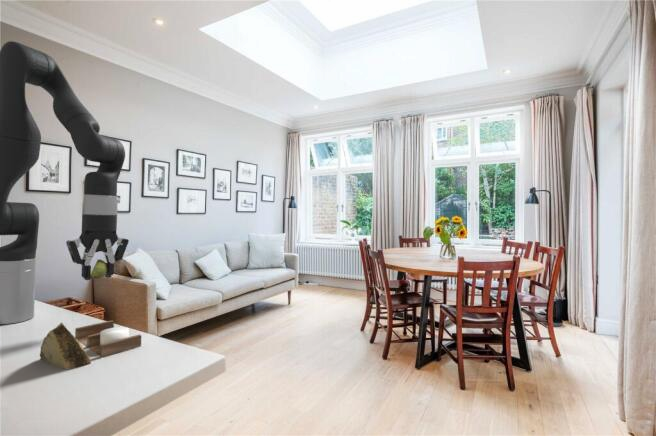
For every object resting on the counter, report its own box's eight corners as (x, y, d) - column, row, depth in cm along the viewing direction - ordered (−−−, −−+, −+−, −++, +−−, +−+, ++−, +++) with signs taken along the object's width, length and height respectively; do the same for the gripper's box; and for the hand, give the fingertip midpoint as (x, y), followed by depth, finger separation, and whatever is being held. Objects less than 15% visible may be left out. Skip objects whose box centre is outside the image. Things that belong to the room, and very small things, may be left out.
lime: (93, 281, 84) (93, 261, 84) (82, 278, 86) (83, 259, 86) (111, 278, 88) (112, 259, 88) (101, 276, 90) (102, 257, 90)
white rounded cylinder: (94, 347, 76) (94, 332, 76) (118, 340, 81) (119, 325, 81) (109, 352, 73) (109, 336, 73) (133, 344, 78) (134, 329, 78)
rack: (75, 342, 81) (75, 328, 81) (111, 333, 87) (112, 320, 87) (102, 361, 71) (102, 345, 71) (140, 350, 78) (141, 335, 78)
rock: (22, 354, 69) (21, 365, 61) (55, 315, 73) (58, 322, 65) (74, 374, 74) (79, 387, 66) (103, 337, 78) (110, 345, 70)
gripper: (123, 212, 95) (121, 273, 95) (61, 211, 83) (59, 279, 83) (135, 214, 90) (133, 277, 91) (72, 212, 79) (69, 285, 79)
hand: (97, 278), depth 87 cm, fingers closed on lime, 4 cm apart
